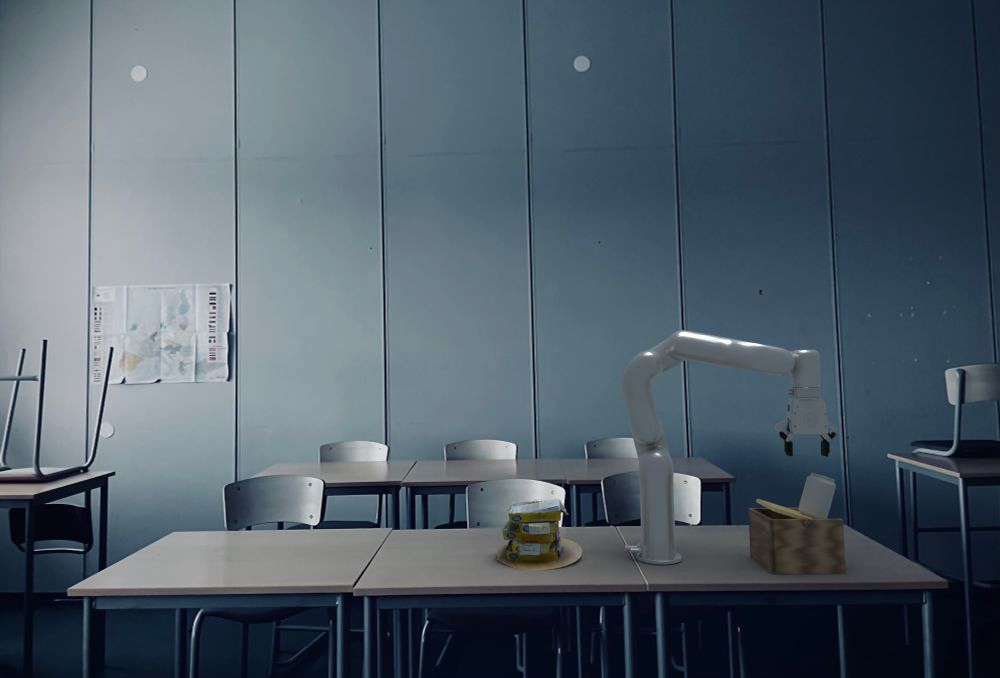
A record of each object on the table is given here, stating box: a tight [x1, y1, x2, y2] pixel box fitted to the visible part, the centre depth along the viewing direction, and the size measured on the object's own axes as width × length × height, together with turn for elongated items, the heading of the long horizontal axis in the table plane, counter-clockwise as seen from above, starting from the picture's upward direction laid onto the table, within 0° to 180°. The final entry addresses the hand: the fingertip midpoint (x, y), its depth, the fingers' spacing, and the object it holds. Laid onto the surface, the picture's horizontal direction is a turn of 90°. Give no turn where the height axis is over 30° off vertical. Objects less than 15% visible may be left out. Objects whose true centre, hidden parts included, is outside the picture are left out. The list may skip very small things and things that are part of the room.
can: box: [797, 472, 837, 519], centre depth 187 cm, size 8×8×12 cm
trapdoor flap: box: [755, 498, 813, 519], centre depth 187 cm, size 16×14×1 cm
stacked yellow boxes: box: [496, 498, 583, 571], centre depth 198 cm, size 25×25×17 cm
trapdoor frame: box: [748, 507, 847, 575], centre depth 186 cm, size 19×19×14 cm
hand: (807, 455), depth 188 cm, fingers open, 9 cm apart
